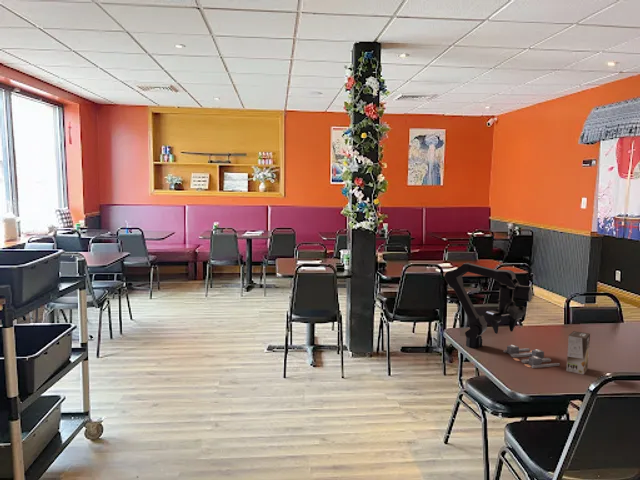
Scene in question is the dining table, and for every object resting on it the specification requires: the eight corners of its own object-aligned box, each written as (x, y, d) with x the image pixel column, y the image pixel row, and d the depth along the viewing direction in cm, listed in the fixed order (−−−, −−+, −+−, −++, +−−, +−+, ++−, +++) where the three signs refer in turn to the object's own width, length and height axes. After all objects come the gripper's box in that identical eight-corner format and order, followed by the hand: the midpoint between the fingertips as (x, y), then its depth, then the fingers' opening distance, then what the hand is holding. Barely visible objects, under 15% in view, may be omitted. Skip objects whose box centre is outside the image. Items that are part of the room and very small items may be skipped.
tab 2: (535, 359, 201) (536, 351, 200) (531, 357, 203) (531, 349, 203) (543, 358, 202) (544, 350, 201) (539, 356, 204) (539, 348, 204)
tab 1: (510, 354, 207) (511, 346, 206) (506, 352, 209) (507, 344, 209) (518, 354, 207) (519, 346, 207) (514, 352, 210) (515, 344, 210)
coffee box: (583, 377, 184) (586, 338, 183) (565, 373, 188) (568, 335, 187) (587, 371, 191) (590, 333, 190) (570, 367, 195) (573, 330, 194)
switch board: (529, 371, 190) (529, 366, 190) (500, 354, 210) (500, 350, 210) (562, 368, 194) (563, 363, 194) (531, 352, 213) (531, 348, 213)
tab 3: (533, 366, 192) (533, 358, 192) (528, 364, 195) (529, 356, 194) (541, 366, 193) (541, 357, 192) (536, 363, 196) (537, 355, 195)
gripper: (504, 304, 196) (502, 340, 198) (535, 300, 204) (533, 335, 205) (485, 298, 206) (483, 332, 208) (515, 295, 214) (513, 328, 215)
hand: (503, 332), depth 209 cm, fingers open, 9 cm apart
